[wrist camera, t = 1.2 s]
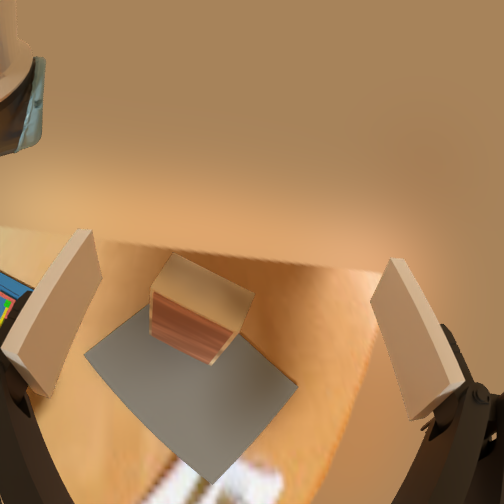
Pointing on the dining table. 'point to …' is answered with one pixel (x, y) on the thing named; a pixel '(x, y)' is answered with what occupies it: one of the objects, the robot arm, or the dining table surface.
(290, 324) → the dining table surface
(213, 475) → the mat
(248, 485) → the dining table surface
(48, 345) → the robot arm
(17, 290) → the handheld gaming device
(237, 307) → the birch board
